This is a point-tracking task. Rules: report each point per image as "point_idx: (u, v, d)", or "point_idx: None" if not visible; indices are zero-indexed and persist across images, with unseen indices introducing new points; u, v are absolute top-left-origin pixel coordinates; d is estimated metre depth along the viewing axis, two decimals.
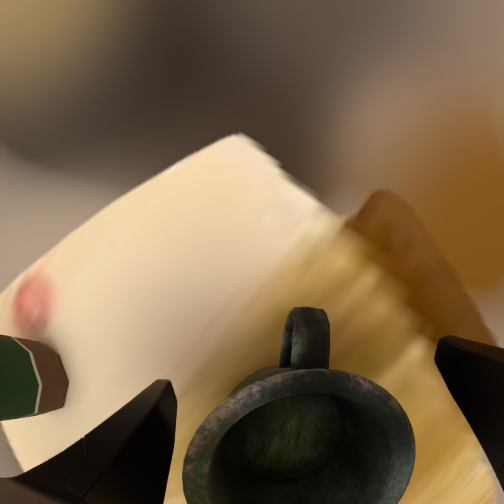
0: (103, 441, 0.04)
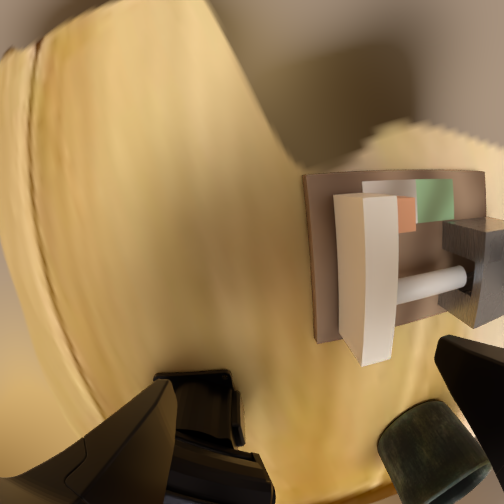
0: (103, 441, 0.04)
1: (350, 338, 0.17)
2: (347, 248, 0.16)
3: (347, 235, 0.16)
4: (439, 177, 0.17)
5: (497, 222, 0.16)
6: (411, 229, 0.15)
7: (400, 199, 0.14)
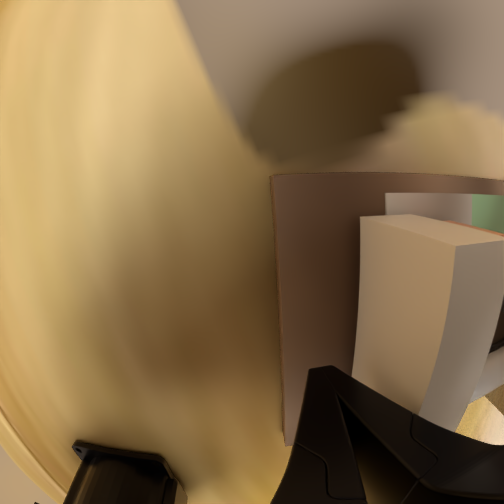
0: (324, 438, 0.04)
1: None
2: (382, 331, 0.07)
3: (386, 308, 0.07)
4: (502, 193, 0.09)
5: None
6: None
7: None
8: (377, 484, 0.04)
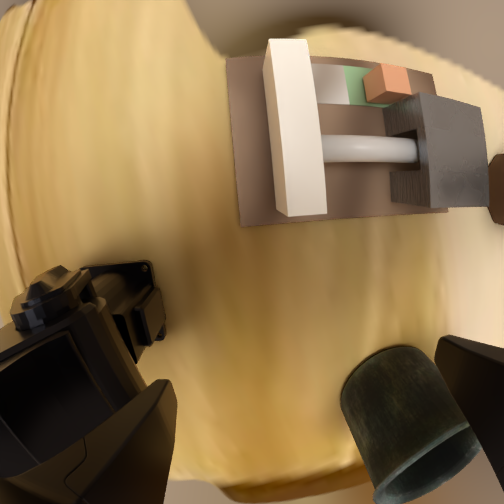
0: (103, 441, 0.04)
1: (280, 197, 0.16)
2: (270, 101, 0.15)
3: (268, 89, 0.14)
4: (372, 67, 0.16)
5: None
6: (406, 92, 0.14)
7: (392, 65, 0.13)
8: None
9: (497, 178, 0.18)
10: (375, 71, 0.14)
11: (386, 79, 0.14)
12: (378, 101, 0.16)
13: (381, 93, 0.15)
